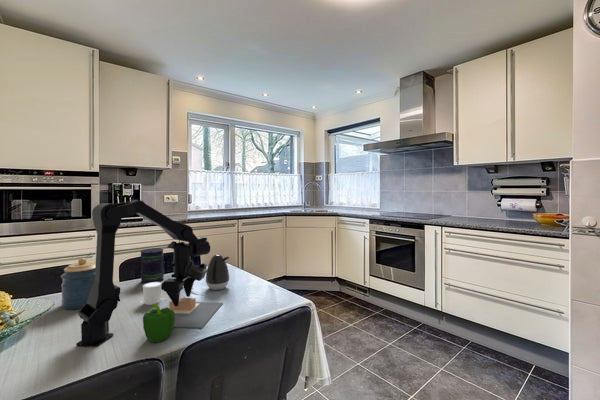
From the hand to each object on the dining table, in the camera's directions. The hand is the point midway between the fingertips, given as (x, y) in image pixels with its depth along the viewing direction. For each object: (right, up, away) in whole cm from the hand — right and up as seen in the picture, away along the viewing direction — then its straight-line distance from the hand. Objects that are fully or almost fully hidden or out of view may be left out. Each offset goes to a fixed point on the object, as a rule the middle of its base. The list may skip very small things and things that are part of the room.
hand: (182, 301), depth 105 cm
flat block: (0, -3, 0) cm, 3 cm away
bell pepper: (+2, -4, -20) cm, 21 cm away
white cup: (-15, -3, +7) cm, 16 cm away
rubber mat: (+4, -3, -4) cm, 6 cm away
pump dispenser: (+6, -3, +23) cm, 24 cm away
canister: (-41, -3, +6) cm, 41 cm away
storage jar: (-28, -2, +33) cm, 43 cm away
